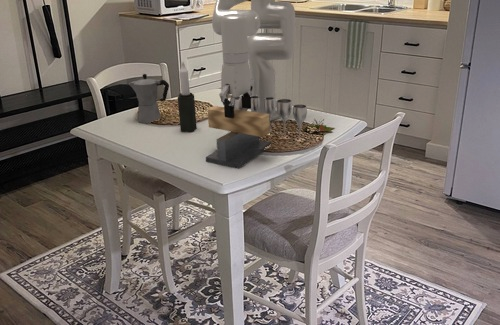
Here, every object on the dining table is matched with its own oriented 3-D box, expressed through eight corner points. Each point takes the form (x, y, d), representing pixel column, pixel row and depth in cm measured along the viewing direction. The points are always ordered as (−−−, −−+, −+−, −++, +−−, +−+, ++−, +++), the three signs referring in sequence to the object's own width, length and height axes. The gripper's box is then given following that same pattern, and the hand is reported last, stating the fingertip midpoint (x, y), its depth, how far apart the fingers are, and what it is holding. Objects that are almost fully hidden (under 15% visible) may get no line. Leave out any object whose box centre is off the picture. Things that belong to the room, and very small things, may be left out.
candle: (193, 132, 180) (187, 62, 170) (179, 131, 181) (173, 62, 171) (197, 127, 185) (192, 59, 175) (184, 127, 186) (178, 59, 176)
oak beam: (269, 132, 154) (269, 114, 151) (262, 137, 151) (262, 118, 148) (215, 123, 164) (214, 105, 161) (208, 127, 160) (207, 109, 158)
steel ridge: (240, 140, 171) (239, 118, 168) (271, 146, 165) (271, 123, 162) (206, 161, 155) (204, 137, 152) (238, 168, 149) (237, 143, 146)
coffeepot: (129, 124, 191) (123, 77, 184) (136, 116, 200) (130, 71, 193) (169, 123, 190) (165, 76, 183) (174, 115, 199) (170, 70, 192)
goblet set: (309, 138, 171) (310, 100, 166) (302, 144, 166) (302, 105, 161) (239, 127, 184) (237, 91, 179) (230, 131, 180) (229, 95, 174)
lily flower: (294, 133, 177) (294, 121, 175) (311, 123, 186) (311, 112, 184) (325, 139, 171) (325, 126, 169) (341, 129, 180) (341, 117, 178)
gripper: (240, 50, 157) (242, 103, 164) (208, 63, 143) (212, 119, 150) (261, 52, 153) (262, 106, 160) (230, 65, 140) (233, 123, 147)
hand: (238, 112), depth 155 cm, fingers open, 9 cm apart
